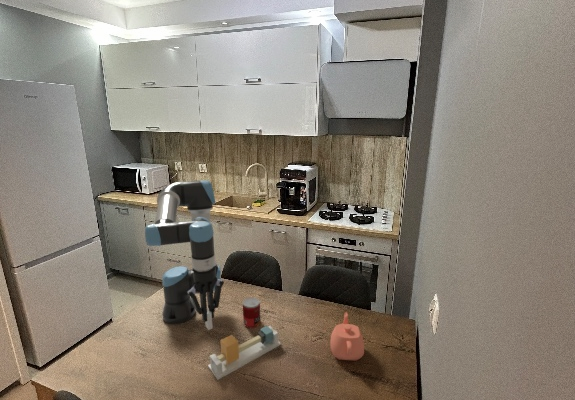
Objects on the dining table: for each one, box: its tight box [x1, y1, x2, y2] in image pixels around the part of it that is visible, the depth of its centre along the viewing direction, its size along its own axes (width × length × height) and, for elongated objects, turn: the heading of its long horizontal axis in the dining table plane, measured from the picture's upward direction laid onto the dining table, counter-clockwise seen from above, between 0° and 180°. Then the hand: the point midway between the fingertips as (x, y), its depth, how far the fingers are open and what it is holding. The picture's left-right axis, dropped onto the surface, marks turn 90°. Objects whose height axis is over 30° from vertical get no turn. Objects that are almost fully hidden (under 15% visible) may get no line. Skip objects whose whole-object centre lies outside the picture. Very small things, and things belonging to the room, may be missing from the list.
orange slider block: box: [219, 334, 239, 365], centre depth 120 cm, size 5×5×8 cm
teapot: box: [329, 311, 365, 362], centre depth 126 cm, size 13×20×12 cm, turn 175°
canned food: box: [242, 297, 261, 329], centre depth 144 cm, size 8×8×11 cm
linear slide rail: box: [207, 325, 282, 380], centre depth 125 cm, size 8×29×7 cm, turn 129°
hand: (209, 327), depth 111 cm, fingers closed
